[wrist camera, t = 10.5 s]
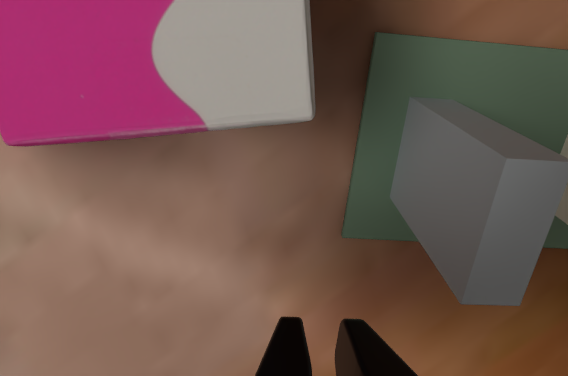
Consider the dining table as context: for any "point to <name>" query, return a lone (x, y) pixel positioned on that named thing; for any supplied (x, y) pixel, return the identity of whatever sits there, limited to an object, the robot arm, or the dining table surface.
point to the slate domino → (476, 198)
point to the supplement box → (151, 68)
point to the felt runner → (461, 88)
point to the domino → (564, 212)
